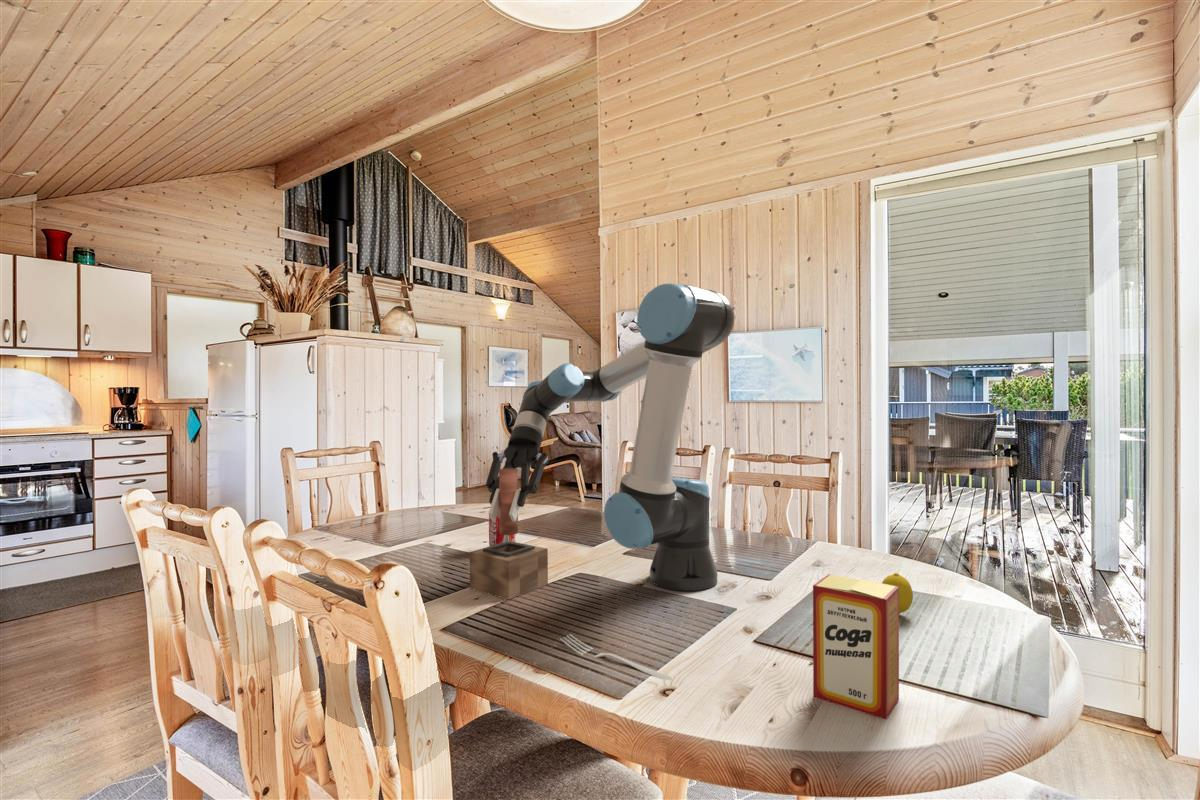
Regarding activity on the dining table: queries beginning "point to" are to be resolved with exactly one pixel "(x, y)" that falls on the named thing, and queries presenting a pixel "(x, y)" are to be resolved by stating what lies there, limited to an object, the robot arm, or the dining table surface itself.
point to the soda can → (497, 532)
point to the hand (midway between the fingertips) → (502, 517)
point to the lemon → (901, 590)
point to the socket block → (508, 569)
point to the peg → (507, 500)
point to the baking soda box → (856, 644)
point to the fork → (639, 667)
